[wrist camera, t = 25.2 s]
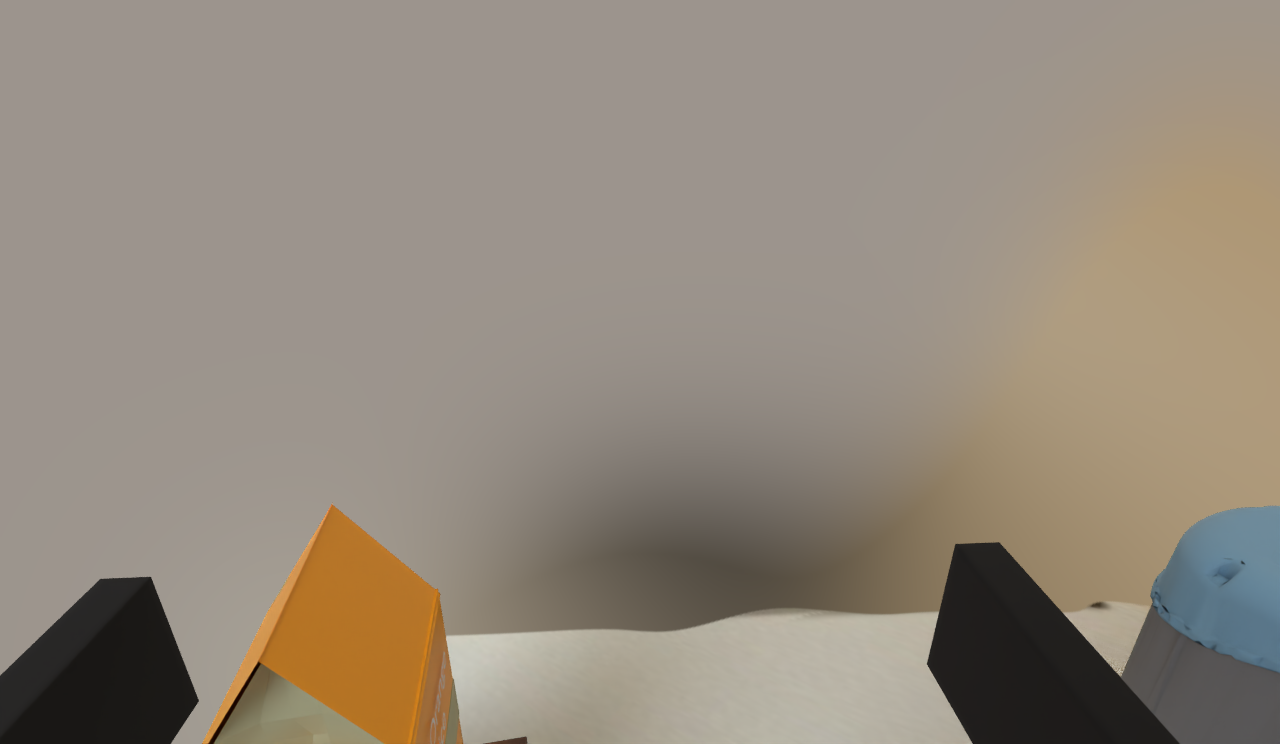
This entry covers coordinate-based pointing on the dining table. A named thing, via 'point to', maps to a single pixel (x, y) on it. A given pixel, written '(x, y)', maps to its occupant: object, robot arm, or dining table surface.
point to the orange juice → (345, 654)
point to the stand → (511, 741)
